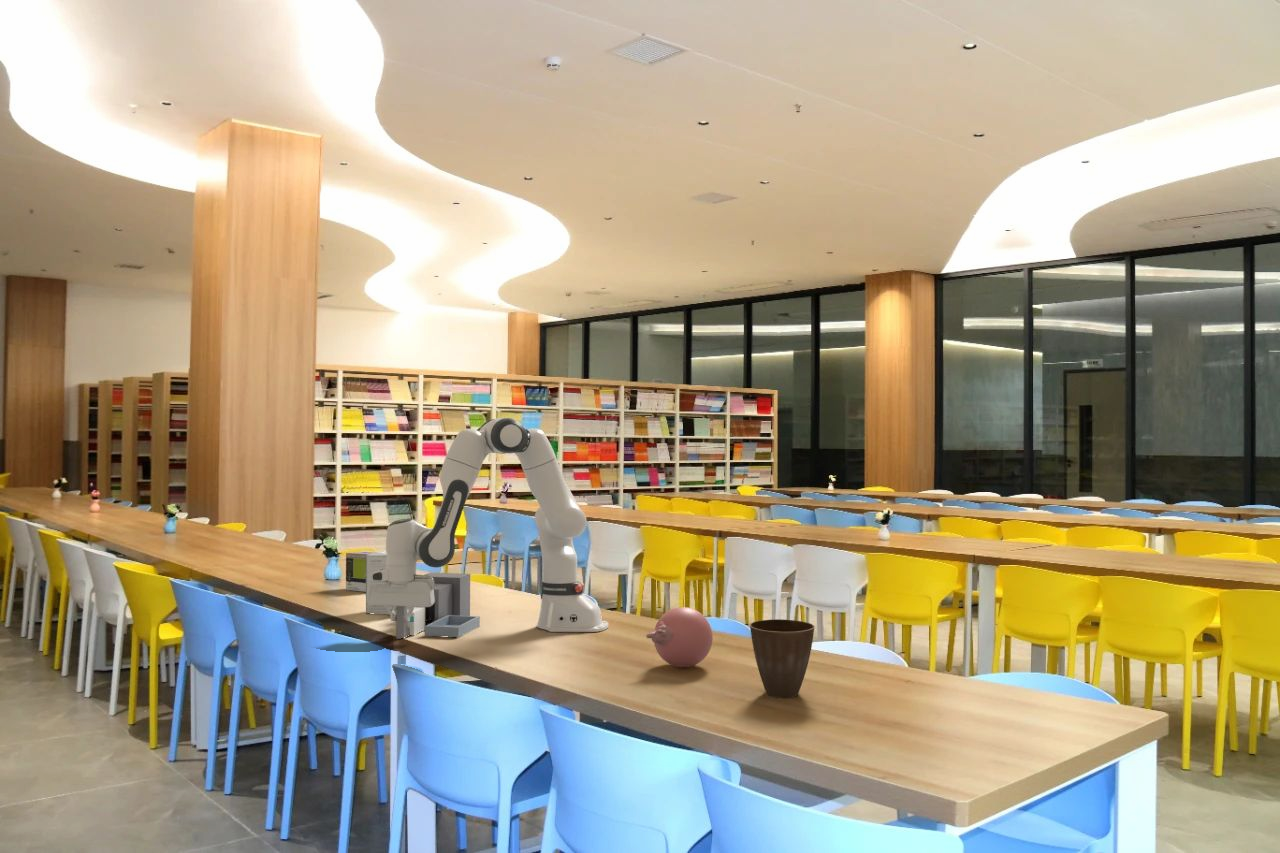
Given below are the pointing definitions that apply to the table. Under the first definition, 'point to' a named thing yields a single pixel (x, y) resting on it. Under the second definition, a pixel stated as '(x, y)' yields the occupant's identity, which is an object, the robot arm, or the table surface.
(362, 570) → the tea box
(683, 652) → the pink balloon
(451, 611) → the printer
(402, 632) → the white box teal stripe
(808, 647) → the plant pot
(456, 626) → the tray
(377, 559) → the hard drive box
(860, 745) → the table surface
